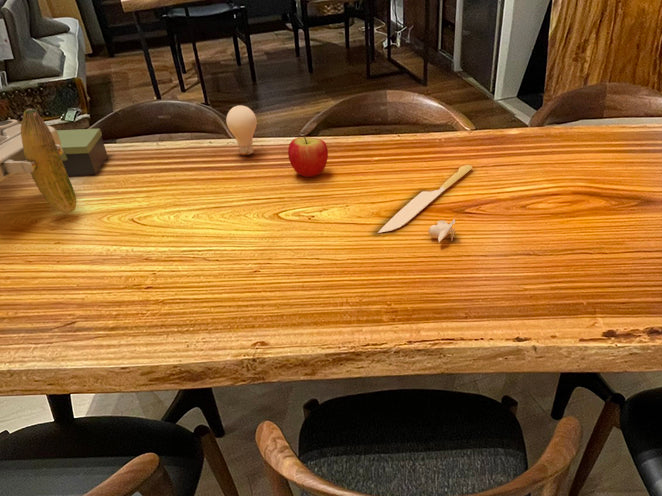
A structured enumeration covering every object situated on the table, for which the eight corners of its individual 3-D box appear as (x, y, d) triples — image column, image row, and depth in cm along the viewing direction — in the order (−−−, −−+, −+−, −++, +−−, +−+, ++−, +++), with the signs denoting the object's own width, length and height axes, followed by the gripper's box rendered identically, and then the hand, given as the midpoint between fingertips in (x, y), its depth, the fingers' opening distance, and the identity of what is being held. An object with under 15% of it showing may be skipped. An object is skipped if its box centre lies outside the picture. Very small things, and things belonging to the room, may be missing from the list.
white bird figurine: (425, 224, 116) (435, 202, 113) (448, 232, 117) (459, 210, 114) (426, 246, 110) (437, 223, 107) (450, 254, 111) (461, 232, 108)
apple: (286, 170, 137) (280, 124, 130) (323, 163, 139) (319, 118, 132) (296, 185, 131) (290, 138, 125) (334, 178, 133) (330, 131, 127)
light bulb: (264, 158, 142) (257, 108, 135) (235, 163, 141) (226, 113, 133) (258, 147, 147) (250, 99, 140) (230, 152, 145) (221, 103, 138)
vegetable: (56, 223, 120) (13, 117, 107) (42, 212, 123) (-1, 109, 110) (85, 212, 123) (48, 108, 110) (71, 202, 127) (33, 100, 113)
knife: (369, 228, 116) (390, 232, 113) (457, 161, 136) (476, 163, 133) (370, 234, 117) (391, 238, 114) (457, 167, 136) (476, 169, 134)
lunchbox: (39, 178, 138) (28, 149, 133) (56, 157, 146) (46, 130, 142) (95, 176, 138) (85, 147, 134) (109, 155, 146) (100, 127, 142)
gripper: (-64, 156, 109) (0, 164, 106) (16, 115, 124) (75, 121, 121) (-47, 190, 114) (15, 198, 111) (29, 147, 128) (86, 153, 125)
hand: (47, 158), depth 116 cm, fingers closed on vegetable, 6 cm apart
